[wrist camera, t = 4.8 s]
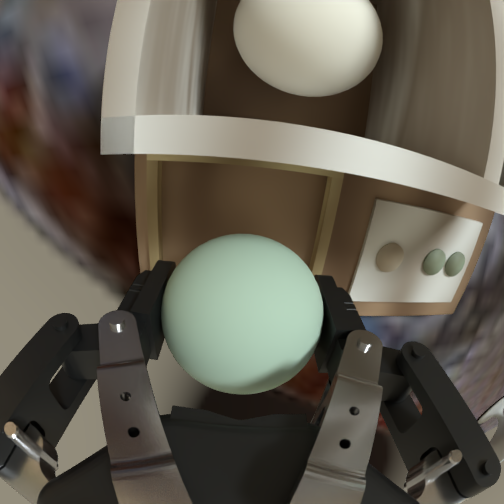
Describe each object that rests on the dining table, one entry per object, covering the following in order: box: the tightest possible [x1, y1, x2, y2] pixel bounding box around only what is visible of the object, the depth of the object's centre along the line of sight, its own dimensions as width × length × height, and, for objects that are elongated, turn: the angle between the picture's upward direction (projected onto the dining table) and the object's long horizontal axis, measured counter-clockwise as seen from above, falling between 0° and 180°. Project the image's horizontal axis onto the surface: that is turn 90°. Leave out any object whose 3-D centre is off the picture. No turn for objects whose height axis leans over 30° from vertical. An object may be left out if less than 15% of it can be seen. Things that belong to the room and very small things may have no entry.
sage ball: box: [161, 234, 324, 394], centre depth 10 cm, size 6×6×6 cm
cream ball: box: [233, 0, 383, 97], centre depth 8 cm, size 6×6×6 cm
